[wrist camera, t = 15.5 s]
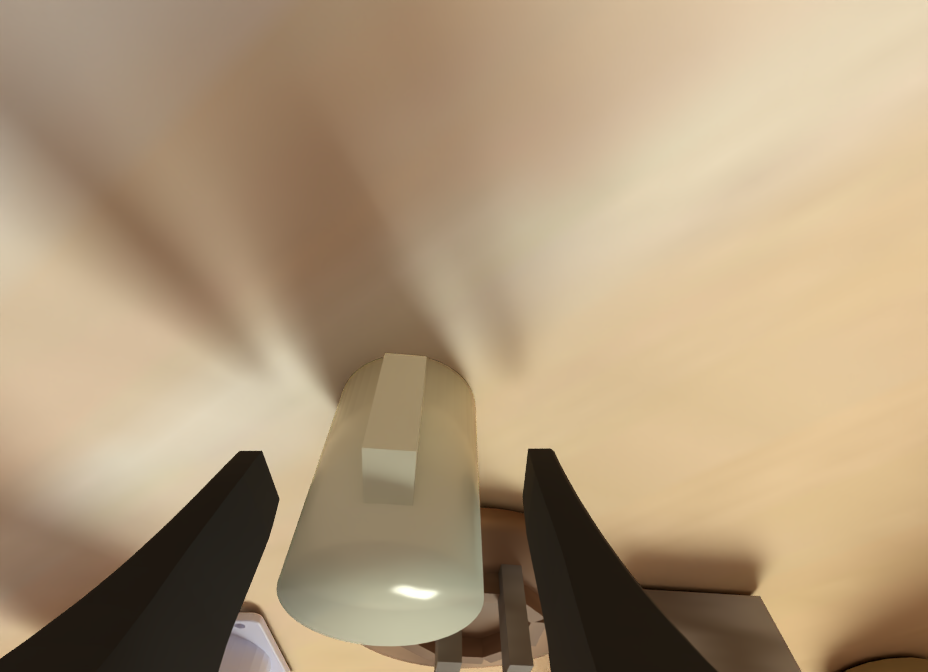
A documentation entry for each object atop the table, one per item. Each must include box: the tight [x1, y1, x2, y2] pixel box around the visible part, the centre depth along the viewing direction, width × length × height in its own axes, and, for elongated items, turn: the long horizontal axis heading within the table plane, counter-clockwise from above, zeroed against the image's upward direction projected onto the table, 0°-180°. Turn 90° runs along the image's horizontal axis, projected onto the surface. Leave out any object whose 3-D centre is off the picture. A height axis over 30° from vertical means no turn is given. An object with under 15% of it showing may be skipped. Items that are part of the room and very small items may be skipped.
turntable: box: [361, 508, 801, 672], centre depth 19 cm, size 20×12×4 cm, turn 82°
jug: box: [277, 353, 484, 646], centre depth 12 cm, size 6×4×6 cm
